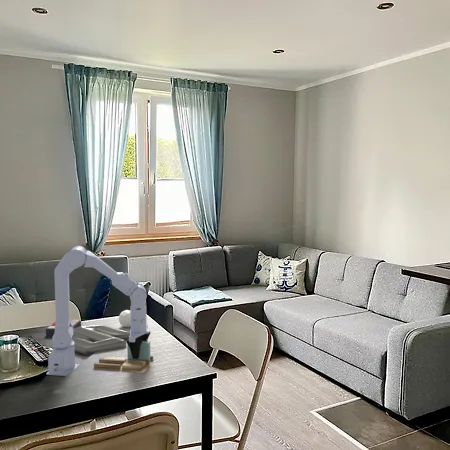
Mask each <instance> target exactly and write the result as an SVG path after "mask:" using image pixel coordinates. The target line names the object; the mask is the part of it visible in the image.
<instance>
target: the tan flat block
mask: <svg viewBox="0 0 450 450" xmlns="http://www.w3.org/2000/svg"><path fill="white" fill-rule="evenodd" d="M145 366H146V364H145V365H144V366H143V367H142V368H141V369H135V368H122V370H132V371H141V370H142V369H143V368H144V367H145Z"/></svg>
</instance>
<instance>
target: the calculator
mask: <svg viewBox="0 0 450 450" xmlns="http://www.w3.org/2000/svg"><path fill="white" fill-rule="evenodd" d="M55 323H56V321H54V322H53V323H52V324H50V325H49V326H48V327H47V328H46V329H45V337H46V338H51V337H53V335H54V333H55ZM71 324H72V326H73V328H77V327H82V321H81V319H71Z"/></svg>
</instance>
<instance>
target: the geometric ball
mask: <svg viewBox="0 0 450 450" xmlns="http://www.w3.org/2000/svg"><path fill="white" fill-rule="evenodd" d="M118 322H119V324H120V326H122V327H124V328H131V317H130V310H129V309H125V310H123V311H121V312H120V314H119V315H118Z"/></svg>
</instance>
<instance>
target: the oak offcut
mask: <svg viewBox="0 0 450 450" xmlns="http://www.w3.org/2000/svg"><path fill="white" fill-rule="evenodd" d="M145 364H146V361H135V360H126V361H125V362H124V364H123V365H122V368H135V369H141V368H142V367H143V366H144V365H145Z"/></svg>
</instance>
